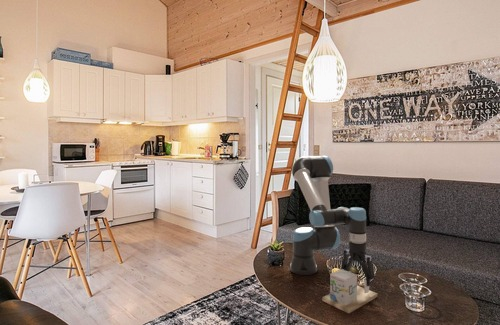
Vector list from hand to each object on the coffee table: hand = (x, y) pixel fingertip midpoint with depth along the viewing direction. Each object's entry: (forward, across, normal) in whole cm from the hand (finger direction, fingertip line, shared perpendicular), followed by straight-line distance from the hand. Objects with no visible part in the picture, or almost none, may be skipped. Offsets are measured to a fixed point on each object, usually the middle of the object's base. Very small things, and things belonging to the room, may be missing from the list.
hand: (357, 288), depth 145 cm
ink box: (+2, 0, -11) cm, 11 cm away
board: (+3, 0, -6) cm, 7 cm away
